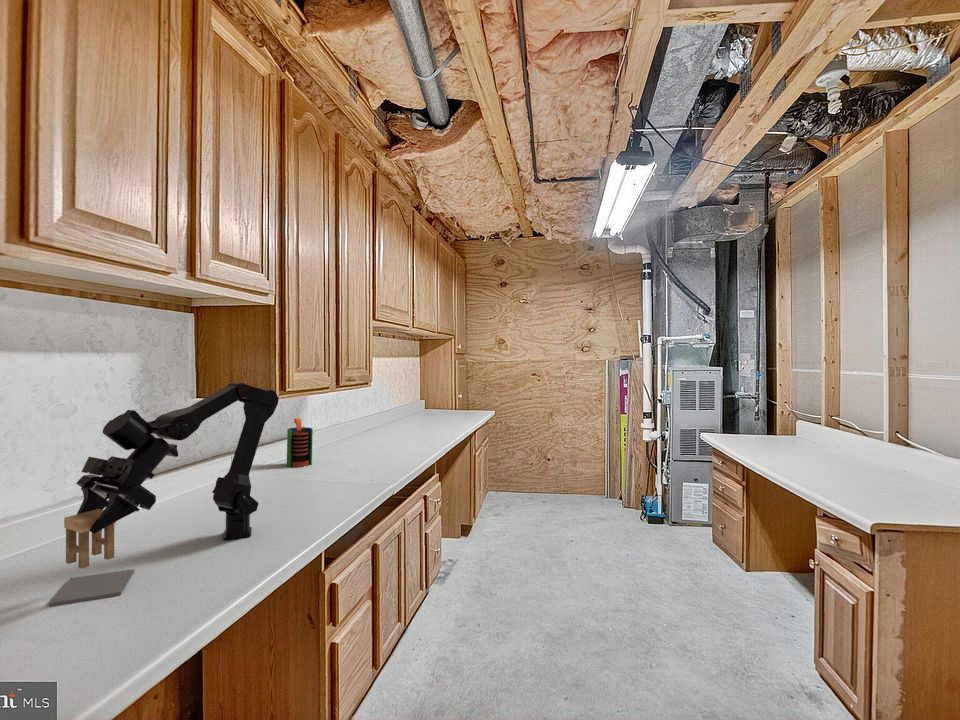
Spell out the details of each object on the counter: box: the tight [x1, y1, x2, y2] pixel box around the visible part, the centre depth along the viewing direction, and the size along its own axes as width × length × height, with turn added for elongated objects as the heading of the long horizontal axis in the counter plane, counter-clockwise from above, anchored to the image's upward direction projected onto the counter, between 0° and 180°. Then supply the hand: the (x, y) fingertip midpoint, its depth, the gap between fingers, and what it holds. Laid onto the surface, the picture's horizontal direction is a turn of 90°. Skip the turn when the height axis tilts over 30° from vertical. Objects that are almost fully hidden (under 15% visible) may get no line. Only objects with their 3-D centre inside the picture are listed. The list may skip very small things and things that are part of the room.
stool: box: [63, 509, 117, 569], centre depth 95 cm, size 6×6×9 cm
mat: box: [48, 568, 135, 607], centre depth 97 cm, size 11×11×1 cm
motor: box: [286, 417, 314, 468], centre depth 206 cm, size 10×9×20 cm
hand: (82, 529), depth 94 cm, fingers closed on stool, 6 cm apart
